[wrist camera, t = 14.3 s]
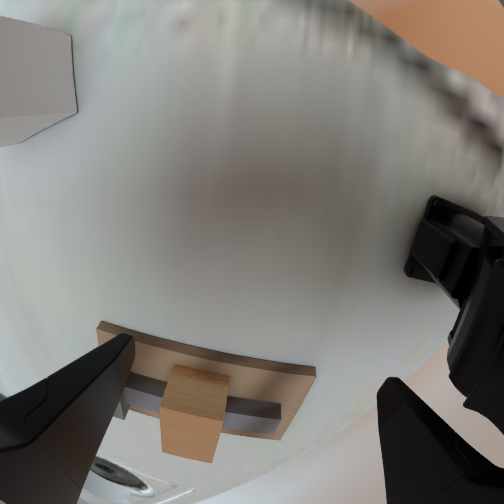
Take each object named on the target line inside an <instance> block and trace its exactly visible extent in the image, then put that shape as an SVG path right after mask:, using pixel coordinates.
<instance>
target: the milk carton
mask: <svg viewBox="0 0 504 504" xmlns="http://www.w3.org/2000/svg"><path fill="white" fill-rule="evenodd" d="M75 113H77V105H76V97H75V88H74V78H73V66H72V50H71V36H70V35H68V34H66V33H63V32H59V31H56V30H53V29H50V28H47V27H43V26H40V25H36V24H32V23H29V22H25V21H21V20H17V19H12V18H8V17H3V16H0V147H3V146H8V145H13V144H18V143H21V142H22V141H24V140H26V139H28V138H29V137H31V136H33V135H35V134H36V133H38V132H40V131H42V130H44V129H46V128H47V127H49V126H51V125H53V124H55V123H57V122H59V121H61V120H63V119H65V118H67V117H69V116H71V115H73V114H75Z"/></svg>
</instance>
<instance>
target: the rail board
mask: <svg viewBox="0 0 504 504" xmlns="http://www.w3.org/2000/svg"><path fill="white" fill-rule="evenodd" d="M96 330H97V337H98V343H99V346H100V345H102V344H103V343H105V342H107V341H108V340H110V339H112V338H113V337H115V336H117V335H118V334H120V333H123V332H125V333H128V334H131V335H133V336H134V338H135V351H136V354H135V359H134V362H133V365H132V368H131V371H130V374H129V377H128V380H127V383H126V386H125V389H124V392H123V395H122V397H121V400H120V402H119V404H118V406H117V408H116V410H115V413H114V415H113V416H114V417H117V418H120V419H123V420H124V419H125V417H126V415H127V412H128V410H133V411H136V412H139V413H142V414H145V415H149V416H152V417H156V418H159V419H160V408H159V407H160V404H161V401H162V398H163V395H164V392H165V389H166V386H167V383H168V380H169V377H170V375H171V372H172V369H173V366H174V364H178V365H182V366H187V367H191V368H195V369H199V370H204V371H209V372H213V373H218V374H223V375H228V376H230V381H229V388H228V395H227V402H226V409H225V416H224V422H223V426H222V429H221V433H227V434H233V435H240V436H247V437H255V438H263V439H272V440H281V438H282V436H283V435H284V433H285V431H286V430H287V428H288V426H289V425H290V423H291V421H292V420H293V418H294V416H295V415H296V413H297V411H298V409H299V408H300V406H301V404H302V402H303V401H304V399H305V397H306V395H307V393H308V392H309V390H310V388H311V386H312V384H313V382H314V380H315V378H316V371H315V367H308V366H300V365H293V364H286V363H279V362H272V361H266V360H260V359H254V358H248V357H243V356H237V355H232V354H227V353H222V352H217V351H212V350H208V349H203V348H199V347H194V346H190V345H186V344H181V343H177V342H173V341H169V340H165V339H161V338H158V337H154V336H150V335H147V334H143V333H139V332H136V331H132V330H129V329H126V328H122V327H119V326H116V325H113V324H109V323H106V322H103V321H101V323H100V324H99V326H98V327H97V328H96Z"/></svg>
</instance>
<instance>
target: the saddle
mask: <svg viewBox="0 0 504 504" xmlns="http://www.w3.org/2000/svg"><path fill="white" fill-rule="evenodd" d="M229 381H230V376H228V375H223V374H218V373H213V372H209V371H204V370H199V369H195V368H191V367H187V366H182V365H178V364H174V366H173V369H172V372H171V375H170V377H169V380H168V383H167V386H166V389H165V392H164V395H163V398H162V401H161V404H160V407H159V408H160V427H161V442H162V452H164V453H168V454H171V455H175V456H180V457H184V458H188V459H193V460H198V461H203V462H208V463H212V460H213V457H214V453H215V450H216V446H217V443H218V440H219V436H220V433H221V429H222V426H223V422H224V416H225V409H226V402H227V395H228V388H229Z"/></svg>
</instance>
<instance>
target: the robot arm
mask: <svg viewBox="0 0 504 504" xmlns="http://www.w3.org/2000/svg"><path fill="white" fill-rule="evenodd" d="M436 200H437V204H436V205H435V206H434V202H435V201H436ZM481 221H482V223H481ZM411 268H412V270H411V271H410V272H409V270H410V269H411ZM404 273H405V274H406V275H407V276H408V277H411V278H415V279H420V280H424V281H429V282H433V283H437V284H438V285H439V286H440V288H441V289H442V290H443V291H444V292H445V293H446V294H447V295H448V297H449V298H450V299H451V300H452V301H453V302H454V303H455V305H456V306H457V307H458V308H459V309H460V312H459V314H458V317H457V320H456V322H455V325H454V327H453V329H452V331H450V333H449V336H448V343H449V348H448V353H447V362H448V366H449V370H450V373H449V378H450V380H451V381H452V383H453V385H454V386H455V387H456V388H457V390H459V392H460V393H462V394H463V395H464V396H465V397H467V399H466V400H465V402H464V403H463V406H464V407H465V408H468V409H470V410H474V411H477V412H478V413H480V414H482V415H483V416H485V417H486V418H488V419H489V420H490V421H491V422H492V423H493V424H494V425H495V426H496V427H497V428H498V429H499V430H500V431H501V432H502V433H503V435H504V218H500V217H492V216H485V217H483V216H481V215H479V214H477V213H475V212H473V211H470V210H468V209H466V208H464V207H461V206H459V205H457V204H454V203H452V202H450V201H447V200H445V199H443V198H440V197H438V196H432V197H431V198H430V200H429V202H428V206H427V209H426V212H425V215H424V218H423V221H422V222H421V224H420V227H419V230H418V232H417V235H416V238H415V241H414V243H413V246H412V248H411V253H410V256H409V258H408V261H407V263H406V265H405V268H404ZM135 354H136V351H135V338H134V336H133V335H131V334H128V333H125V332H123V333H120V334H118V335H117V336H115V337H113V338H112V339H110V340H108V341H107V342H105V343H103V344H102V345H100V346H98V347H97V348H95V349H93V350H92V351H90V352H88V353H87V354H85V355H83V356H82V357H80V358H78V359H77V360H75V361H73V362H72V363H70V364H68V365H67V366H65V367H63V368H62V369H60V370H58V371H57V372H55V373H53V374H51V375H50V376H48V377H47V378H45V379H43V380H41V381H40V382H38V383H36V384H34V385H32V386H31V387H29V388H27V389H25V390H23V391H21V392H19V393H17V394H15V395H12V396H10V397H8V398H5V399H3V400H1V401H0V504H77V501H78V499H79V496H80V493H81V491H82V490H81V489H82V488H83V485H84V483H85V480H86V478H87V475H88V473H89V470H90V468H91V465H92V463H93V461H94V458H95V456H96V454H97V451H98V449H99V446H100V444H101V442H102V440H103V437H104V435H105V433H106V430H107V428H108V426H109V424H110V421H111V419H112V417H113V415H114V413H115V410H116V408H117V406H118V404H119V402H120V400H121V397H122V395H123V392H124V389H125V386H126V383H127V380H128V377H129V374H130V371H131V368H132V365H133V362H134V359H135ZM377 409H378V428H379V436H380V444H381V452H382V459H383V467H384V476H385V487H386V499H387V504H504V468H500V467H497V466H495V465H494V464H492V463H491V462H490V461H489V460H488V459H486V458H485V457H484V456H482V455H481V454H480V453H479V452H477V451H476V450H475V449H474V448H473V447H472V446H470V445H469V444H468V443H467V442H466V441H465V440H464V439H463V438H461V437H460V436H459V435H458V434H457V433H456V432H455V431H454V430H453V429H452V428H451V427H450V426H449V425H448V424H447V423H446V422H445V421H444V420H443V419H442V418H440V416H438V415H437V414H436V413H435V412H434V411H433V410H432V409H431V408H430V407H429V406H428V405H427V404H426V403H425V402H424V401H423V400H421V399H420V397H418V396H417V395H416V394H415V393H414V392H413V391H412V390H411V389H410V388H409V387H408V386H407V385H406V384H405V383H404V382H403V381H402V380H400V379H399V378H398V377H388V378H387V379H386V380H385V382H384V383H383V385H382V386H381V387H380V389H379V390H378V392H377Z"/></svg>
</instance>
